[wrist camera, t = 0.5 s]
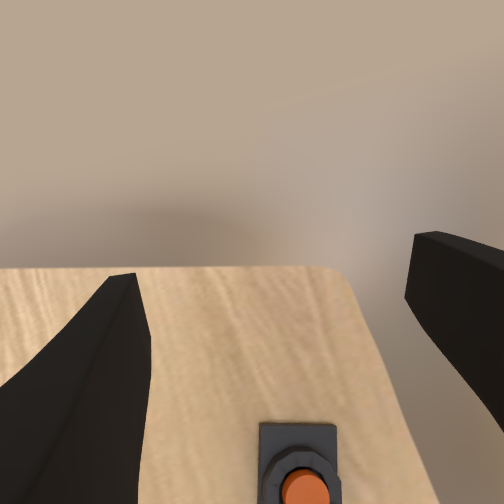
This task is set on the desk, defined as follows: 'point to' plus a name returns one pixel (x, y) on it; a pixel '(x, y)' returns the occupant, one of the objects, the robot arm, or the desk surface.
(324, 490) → the button
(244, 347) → the desk surface
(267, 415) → the desk surface
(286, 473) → the control block
